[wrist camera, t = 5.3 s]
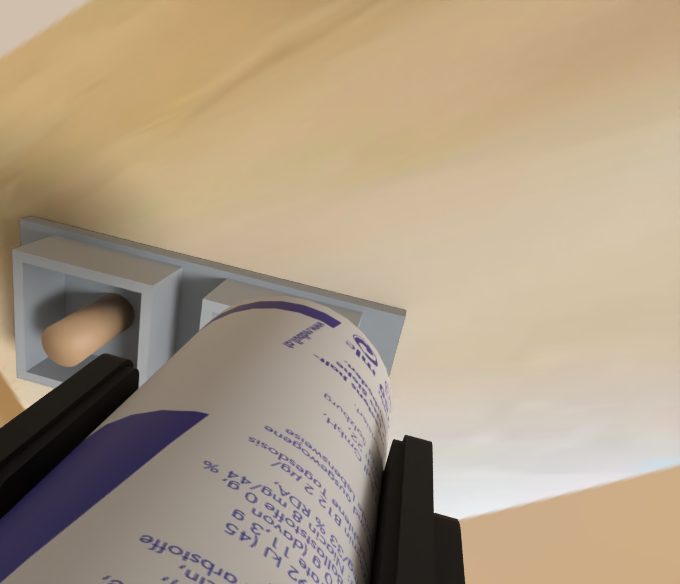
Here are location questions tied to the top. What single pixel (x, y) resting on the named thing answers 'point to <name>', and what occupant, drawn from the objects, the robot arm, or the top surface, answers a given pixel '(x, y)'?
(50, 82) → the top surface
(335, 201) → the top surface
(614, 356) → the top surface
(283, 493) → the energy drink
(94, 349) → the grey divided tray
